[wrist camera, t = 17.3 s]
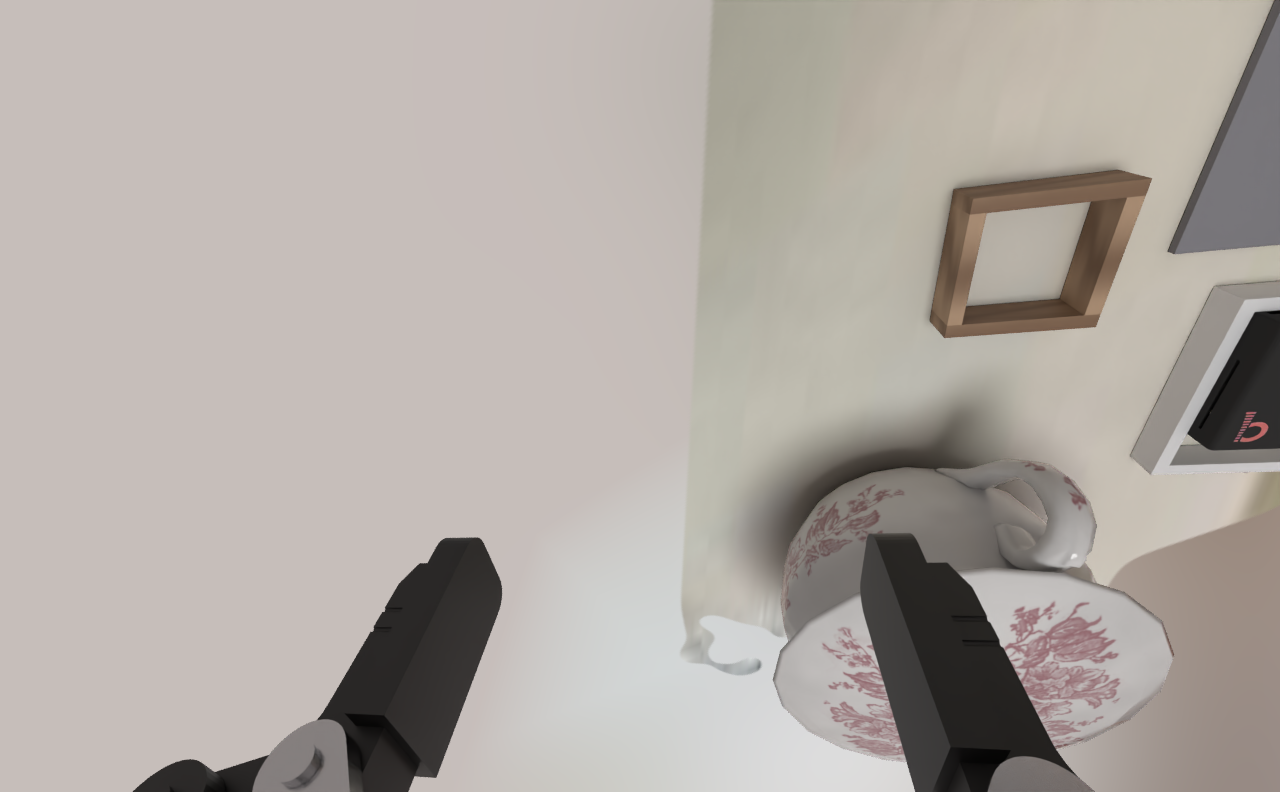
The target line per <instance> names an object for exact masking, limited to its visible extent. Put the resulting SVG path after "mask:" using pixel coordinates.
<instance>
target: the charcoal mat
mask: <svg viewBox="0 0 1280 792" xmlns="http://www.w3.org/2000/svg"><path fill="white" fill-rule="evenodd" d="M1269 245H1280V0H1275V2H1274V4H1273V6H1272V9H1271V11H1270V13H1269V16H1268V18H1267V20H1266V23H1265V25H1264V27H1263V30H1262V32H1261V34H1260V37H1259V39H1258V41H1257V44H1256V46H1255V48H1254V51H1253V53H1252V56H1251V58H1250V60H1249V63H1248V65H1247V67H1246V70H1245V72H1244V74H1243V77H1242V79H1241V81H1240V84H1239V86H1238V88H1237V91H1236V93H1235V95H1234V98H1233V100H1232V102H1231V105H1230V107H1229V109H1228V112H1227V114H1226V116H1225V119H1224V121H1223V123H1222V126H1221V128H1220V130H1219V133H1218V135H1217V138H1216V140H1215V142H1214V145H1213V147H1212V149H1211V152H1210V154H1209V156H1208V159H1207V161H1206V163H1205V166H1204V168H1203V170H1202V173H1201V175H1200V177H1199V180H1198V182H1197V184H1196V187H1195V189H1194V191H1193V194H1192V196H1191V198H1190V201H1189V203H1188V205H1187V208H1186V210H1185V212H1184V215H1183V217H1182V220H1181V222H1180V224H1179V227H1178V229H1177V231H1176V234H1175V236H1174V238H1173V241H1172V243H1171V245H1170V248H1169V250H1168V252H1170V253H1173V254H1182V253H1193V252H1204V251H1215V250H1226V249H1237V248H1248V247H1259V246H1269Z"/></svg>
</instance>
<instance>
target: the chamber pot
mask: <svg viewBox="0 0 1280 792" xmlns="http://www.w3.org/2000/svg"><path fill="white" fill-rule="evenodd" d="M1015 479H1021V480H1023V481H1025V482H1026V483H1028V484H1029V485H1031V486H1032V488H1033V489H1034V491H1035V492H1036V494H1037V495H1038V497H1039V498H1040V499H1041V501H1042V503H1043V506H1044V508H1045V511H1046V514H1047V516H1048V521H1047V523H1046V522H1045V521H1044V520H1042V519H1041V518H1040V517H1039V516H1038V515H1037V514H1035V513H1034V512H1033V511H1032V510H1030V509H1029V508H1028V507H1026V506H1025V505H1024V504H1022V503H1021V502H1020V501H1019V500H1017V499H1016V498H1015V497H1013V496H1012V495H1011V494H1009V493H1008V492H1006V491H1003V490H1000V489H997V488H994V487H995V486H998V485H1001V484H1003V483H1006V482H1009V481H1012V480H1015ZM1096 528H1097V524H1096V521H1095V518H1094V514H1093V511H1092V507H1091V504H1090V501H1089V500H1088V499H1087V498H1086V496H1085V495H1084V494H1083V492H1082V491H1081V490H1080V488H1079V487H1078V486H1077V484H1076V483H1075V482H1074V481H1073V480H1072V479H1070V478H1069V477H1068V476H1066V475H1065V474H1063V473H1062V472H1060V471H1059V470H1058V469H1056V468H1055V467H1053V466H1052V465H1050V464H1045V463H1040V462H1033V461H1023V460H1012V459H1002V460H998V461H994V462H991V463H987V464H984V465H980V466H977V467H973V468H970V469H953V468H938V469H927V468H910V467H903V468H897V469H890V470H884V471H878V472H872V473H869V474H867V475H864V476H862V477H859V478H857V479H854V480H852V481H849V482H847V483H844V484H842V485H841V486H840V487H838V488H837V489H835V490H834V491H833V492H831V493H830V494H828V495H827V496H826V497H824V498H823V499H821V500H820V501H819V502H818V503H817V505H816V506H815V508H814V509H813V510H812V512H811V513H810V514H809V516H808V517H807V518H806V520H805V521H804V523H803V524H802V526H801V527H800V529H799V530H798V532H797V534H796V535H795V537H794V538H793V540H792V541H791V543H790V544H789V548H788V552H787V557H786V561H785V566H784V571H783V582H782V593H781V608H782V615H783V623H784V628H785V632H786V635H787V638H788V643H787V644H786V645H785V646H784V647H783V648H782V649H781V651H780V654H779V658H778V662H777V666H776V670H775V673H774V677H773V681H774V684H775V687H776V690H777V693H778V696H779V698H780V701H781V704H782V706H783V707H784V708H785V709H786V710H787V711H788V712H789V713H790V714H791V715H792V716H793V717H794V718H795V719H796V720H797V721H798V722H799V723H800V724H802V726H804V727H805V728H806V729H807V730H808V731H809V732H811V733H813V734H815V735H817V736H819V737H821V738H823V739H825V740H827V741H829V742H831V743H833V744H835V745H837V746H839V747H841V748H843V749H847V750H850V751H854V752H858V753H861V754H865V755H869V756H872V757H877V758H880V759H884V760H892V761H901V762H907V761H906V758H905V754H904V751H903V748H902V744H901V741H900V737H899V734H898V730H897V727H896V724H895V720H894V717H893V713H892V710H891V706H890V703H889V699H888V696H887V693H886V689H885V686H884V682H883V679H882V675H881V672H880V669H879V665H878V662H877V658H876V655H875V651H874V648H873V645H872V641H871V638H870V634H869V631H868V627H867V624H866V620H865V617H864V613H863V609H862V603H861V595H860V581H861V574H862V567H863V561H864V554H865V547H866V540H867V536H868V535H869V534H872V533H911V534H913V535H914V536H915V538H916V540H917V542H918V544H919V546H920V548H921V550H922V552H923V555H924V557H925V559H926V561H927V563H941V562H947V563H948V564H949V565H950V566H951V567H952V568H953V569H954V570H955V571H956V572H957V573H958V574H959V575H960V576H962V577H963V578H964V579H965V580H966V581H967V582H968V583H969V584H970V585H971V586H972V588H973V589H974V591H975V593H976V595H977V597H978V599H979V601H980V603H981V605H982V607H983V609H984V611H985V613H986V615H987V620H988V622H990V623H991V624H992V626H993V628H994V630H995V632H996V634H997V636H998V638H999V640H1000V645H1001V647H1003V648H1004V650H1005V652H1006V654H1007V656H1008V658H1009V659H1010V661H1011V663H1012V665H1013V667H1014V669H1015V671H1016V673H1017V675H1018V677H1019V679H1020V681H1021V683H1022V685H1023V687H1024V689H1025V691H1026V693H1027V694H1028V696H1029V698H1030V700H1031V702H1032V704H1033V706H1034V708H1035V710H1036V712H1037V714H1038V716H1039V718H1040V720H1041V722H1042V724H1043V726H1044V728H1045V729H1046V731H1047V733H1048V735H1049V737H1050V739H1051V741H1052V743H1053V745H1054V746H1055V748H1056V750H1060V749H1063V748H1067V747H1070V746H1073V745H1076V744H1080V743H1083V742H1087V741H1089V740H1091V739H1093V738H1095V737H1097V736H1098V735H1101V734H1103V733H1105V732H1107V731H1109V730H1111V729H1112V728H1114V727H1116V726H1118V725H1120V724H1122V723H1124V722H1126V721H1128V720H1130V719H1131V718H1132V717H1133V716H1135V715H1136V714H1137V713H1138V712H1139V711H1140V710H1141V709H1142V708H1143V707H1144V706H1145V705H1147V703H1149V702H1150V701H1151V700H1152V699H1153V698H1154V697H1155V696H1156V695H1158V694H1159V693H1160V692H1161V689H1162V687H1163V684H1164V681H1165V678H1166V676H1167V673H1168V671H1169V668H1170V665H1171V663H1172V660H1173V656H1174V653H1173V650H1172V647H1171V644H1170V642H1169V639H1168V636H1167V633H1166V630H1165V628H1164V625H1163V622H1162V620H1160V619H1159V618H1158V617H1156V616H1155V615H1154V614H1153V613H1151V612H1150V611H1149V610H1147V609H1146V608H1145V607H1143V606H1142V605H1141V604H1139V603H1138V602H1137V601H1135V600H1134V599H1133V598H1131V597H1130V596H1129V595H1127V594H1126V593H1125V592H1122V591H1119V590H1116V589H1113V588H1110V587H1106V586H1103V585H1100V584H1097V583H1096V581H1095V578H1094V576H1093V574H1092V571H1091V569H1090V568H1089V567H1088V566H1087V564H1086V563H1085V561H1086V558H1087V555H1088V554H1089V553H1090V552H1091V551H1092V547H1093V542H1094V537H1095V533H1096Z"/></svg>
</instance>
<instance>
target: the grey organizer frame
mask: <svg viewBox="0 0 1280 792" xmlns="http://www.w3.org/2000/svg"><path fill="white" fill-rule="evenodd" d="M1275 310H1280V281H1275V282H1262V283H1250V284H1238V285H1226V286H1214V288H1213V290H1212V292H1211V294H1210V296H1209V298H1208V300H1207V302H1206V304H1205V306H1204V308H1203V310H1202V312H1201V314H1200V316H1199V318H1198V320H1197V322H1196V324H1195V326H1194V328H1193V330H1192V332H1191V334H1190V336H1189V338H1188V340H1187V342H1186V344H1185V346H1184V348H1183V350H1182V352H1181V354H1180V356H1179V358H1178V360H1177V362H1176V364H1175V366H1174V368H1173V371H1172V373H1171V375H1170V377H1169V379H1168V381H1167V383H1166V385H1165V387H1164V389H1163V391H1162V393H1161V395H1160V397H1159V399H1158V401H1157V403H1156V405H1155V407H1154V409H1153V411H1152V413H1151V415H1150V417H1149V419H1148V421H1147V423H1146V425H1145V427H1144V429H1143V431H1142V433H1141V435H1140V437H1139V439H1138V441H1137V443H1136V445H1135V447H1134V449H1133V451H1132V453H1131V455H1130V456H1131V457H1132V458H1133V459H1134V460H1135V461H1136V462H1137V463H1138V464H1139V465H1140V466H1142V467H1143V468H1144V469H1145V470H1146V471H1147V472H1148V473H1149V474H1150V475H1166V474H1200V473H1234V472H1269V471H1280V449H1251V450H1219V451H1212V450H1209V449H1207V448H1205V447H1204V446H1203V445H1184V446H1180V445H1181V444H1182V442H1183V440H1184V438H1185V436H1186V435H1187V433H1188V431H1189V429H1190V427H1191V426H1192V424H1193V422H1194V420H1195V418H1196V417H1197V415H1198V413H1199V411H1200V409H1201V408H1202V406H1203V404H1204V402H1205V400H1206V399H1207V397H1208V395H1209V393H1210V392H1211V390H1212V388H1213V386H1214V384H1215V383H1216V381H1217V379H1218V377H1219V375H1220V374H1221V372H1222V370H1223V368H1224V366H1225V365H1226V363H1227V361H1228V359H1229V357H1230V356H1231V354H1232V352H1233V350H1234V348H1235V347H1236V345H1237V343H1238V341H1239V339H1240V338H1241V336H1242V334H1243V332H1244V330H1245V329H1246V327H1247V325H1248V323H1249V321H1250V320H1251V318H1252V316H1253V314H1254V312H1262V311H1275Z"/></svg>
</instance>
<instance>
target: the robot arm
mask: <svg viewBox="0 0 1280 792" xmlns="http://www.w3.org/2000/svg"><path fill="white" fill-rule="evenodd" d="M860 595H861V603H862V609H863V613H864V617H865V620H866V624H867V627H868V631H869V634H870V638H871V641H872V645H873V648H874V651H875V655H876V658H877V662H878V665H879V669H880V672H881V675H882V679H883V682H884V686H885V689H886V693H887V696H888V699H889V703H890V706H891V710H892V713H893V717H894V720H895V724H896V727H897V730H898V734H899V737H900V741H901V744H902V748H903V751H904V754H905V758H906V761H907V765H908V768H909V772H910V775H911V778H912V782H913V785H914V789H915V792H1095V791H1093V790H1092V789H1091V788H1090V787H1089V786H1088V785H1087V784H1086V783H1084V782H1083V781H1082V780H1081V779H1080V778H1078V776H1077V775H1076V774H1075V773H1074V772H1073V771H1072V770H1071V769H1070V768H1069V766H1068V765H1067V764H1066V763H1065V761H1064V760H1063V759H1062V757H1061V756H1060V755H1059V753H1058V752H1057V750H1056V748H1055V746H1054V745H1053V743H1052V741H1051V739H1050V737H1049V735H1048V733H1047V731H1046V729H1045V728H1044V726H1043V724H1042V722H1041V720H1040V718H1039V716H1038V714H1037V712H1036V710H1035V708H1034V706H1033V704H1032V702H1031V700H1030V698H1029V696H1028V694H1027V693H1026V691H1025V689H1024V687H1023V685H1022V683H1021V681H1020V679H1019V677H1018V675H1017V673H1016V671H1015V669H1014V667H1013V665H1012V663H1011V661H1010V659H1009V658H1008V656H1007V654H1006V652H1005V650H1004V648H1003V647H1001V645H1000V640H999V638H998V636H997V634H996V632H995V630H994V628H993V626H992V624H991V623H990V622H988V620H987V615H986V613H985V611H984V609H983V607H982V605H981V603H980V601H979V599H978V597H977V595H976V593H975V591H974V589H973V588H972V586H971V585H970V584H969V583H968V582H967V581H966V580H965V579H964V578H963V577H962V576H960V575H959V574H958V573H957V572H956V571H955V570H954V569H953V568H952V567H951V566H950V565H949V564H948V563H947V562H941V563H927V561H926V559H925V557H924V555H923V552H922V550H921V548H920V546H919V544H918V542H917V540H916V538H915V536H914V535H913V534H911V533H872V534H869V535H868V536H867V540H866V547H865V554H864V561H863V567H862V574H861V581H860ZM501 600H502V586H501V581H500V578H499V576H498V574H497V572H496V569H495V567H494V565H493V563H492V561H491V558H490V556H489V554H488V552H487V550H486V547H485V545H484V543H483V542H482V540H481V539H480V538H445V539H443V540H442V541H440V543H439V544H438V545H437V547H436V549H435V551H434V552H433V554H432V556H431V558H430V560H429V562H428V563H424V564H423V563H420V564H419V565H417V566H416V568H414V569H413V571H411V572H410V573H409V574H408V576H407V577H405V579H404V580H402V581H401V582H400V583H399V585H398V586H397V588H396V590H395V592H394V593H393V595H392V597H391V598H390V600H389V602H388V603H387V605H386V607H385V612H382V614H381V615H380V617H379V619H378V620H377V622H376V624H375V625H374V631H373V632H370V634H369V636H368V638H367V639H366V641H365V642H364V644H363V646H362V648H361V649H360V651H359V653H358V654H357V656H356V658H355V659H354V661H353V663H352V665H351V666H350V668H349V670H348V672H347V673H346V675H345V677H344V678H343V680H342V682H341V683H340V685H339V687H338V688H337V690H336V692H335V694H334V695H333V697H332V699H331V700H330V702H329V704H328V706H327V707H326V708H325V710H324V712H323V713H322V714H321V716H320V717H319V718H318V720H316V721H313V722H310V723H308V724H306V725H304V726H302V727H300V728H298V729H297V730H295V731H294V732H292V733H291V734H290V735H288V736H287V737H286V738H285V739H284V740H283V741H281V742H280V743H279V744H278V745H277V747H276V748H275V749H274V750H273V751H272V752H271V753H270V755H268V756H264V757H261V758H258V759H255V760H252V761H249V762H246V763H242V764H239V765H236V766H233V767H230V768H227V769H224V770H220V771H217V772H214V771H212V770H211V769H209V768H208V767H207V766H205V765H204V764H203V763H201V762H199V761H197V760H191V759H190V760H182V761H179V762H175V763H173V764H171V765H169V766H167V767H165V768H163V769H161V770H160V771H158V772H156V773H155V774H153V775H152V776H150V777H149V778H148V779H147V780H145V781H144V782H143V783H142V784H141V785H139V786H138V787H137V788H136V789H135V790H134V791H133V792H408V791H409V788H410V786H411V783H412V781H413V778H414V776H419V777H433V778H436V777H437V774H438V772H439V769H440V766H441V764H442V761H443V758H444V756H445V753H446V750H447V748H448V745H449V742H450V739H451V737H452V734H453V732H454V729H455V726H456V723H457V721H458V718H459V716H460V713H461V710H462V708H463V705H464V702H465V700H466V697H467V694H468V692H469V689H470V686H471V684H472V681H473V679H474V676H475V673H476V671H477V667H478V665H479V662H480V660H481V657H482V655H483V652H484V649H485V646H486V644H487V641H488V638H489V636H490V633H491V631H492V628H493V625H494V623H495V620H496V617H497V615H498V612H499V609H500V605H501Z"/></svg>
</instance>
